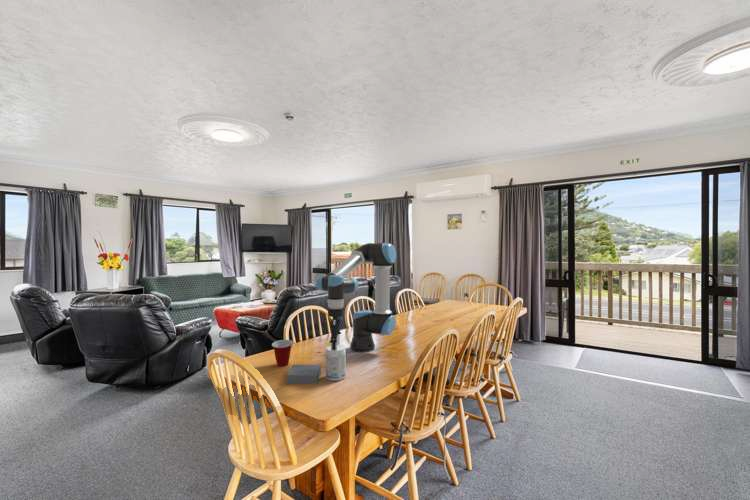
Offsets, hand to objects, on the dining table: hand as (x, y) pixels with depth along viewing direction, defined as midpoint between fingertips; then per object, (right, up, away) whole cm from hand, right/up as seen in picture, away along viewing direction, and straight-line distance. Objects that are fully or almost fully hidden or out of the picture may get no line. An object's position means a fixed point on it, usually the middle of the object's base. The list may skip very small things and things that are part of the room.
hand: (335, 352), depth 165 cm
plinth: (-15, -13, 0) cm, 19 cm away
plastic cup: (-30, -12, +18) cm, 37 cm away
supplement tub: (0, -13, 0) cm, 13 cm away
